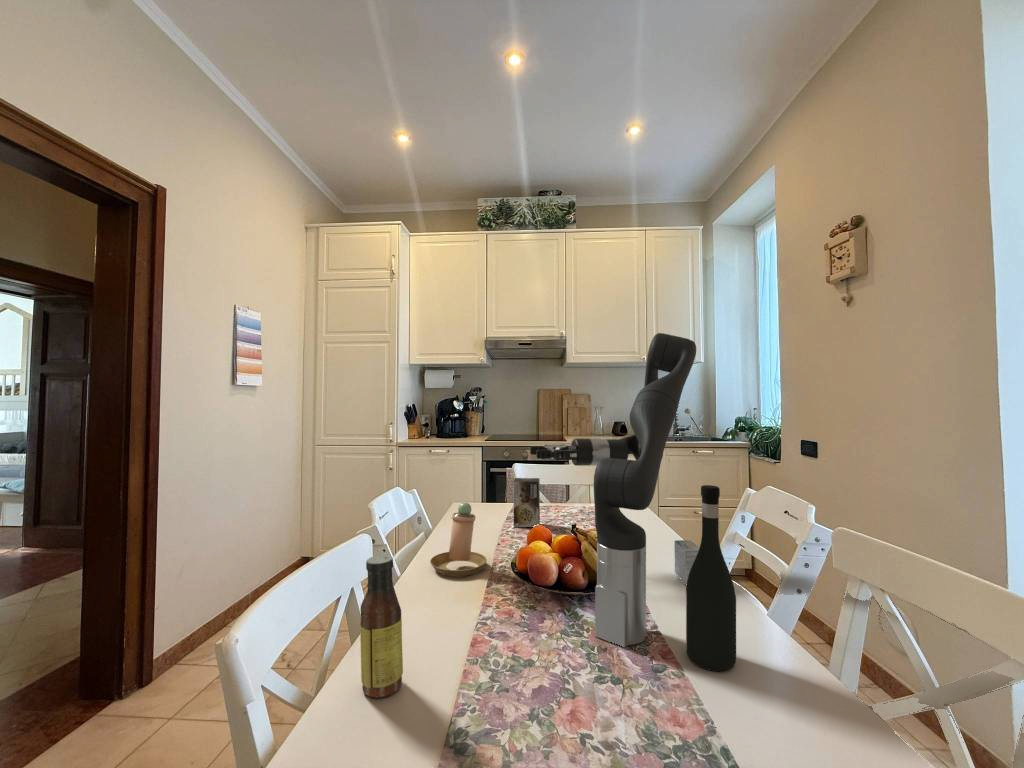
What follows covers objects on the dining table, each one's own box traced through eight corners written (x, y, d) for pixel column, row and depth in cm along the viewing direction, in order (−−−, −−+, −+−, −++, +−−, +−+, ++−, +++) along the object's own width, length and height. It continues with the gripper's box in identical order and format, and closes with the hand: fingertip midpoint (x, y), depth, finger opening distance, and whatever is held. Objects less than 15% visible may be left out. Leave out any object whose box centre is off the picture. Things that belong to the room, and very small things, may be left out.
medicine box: (703, 586, 112) (703, 550, 112) (684, 586, 112) (684, 549, 112) (691, 573, 120) (691, 539, 120) (674, 573, 120) (674, 539, 120)
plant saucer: (457, 556, 133) (457, 547, 133) (497, 568, 124) (497, 558, 124) (418, 571, 121) (418, 561, 121) (459, 585, 112) (459, 574, 112)
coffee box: (540, 523, 166) (540, 477, 166) (539, 528, 159) (539, 481, 160) (514, 522, 166) (514, 477, 167) (512, 527, 160) (513, 480, 160)
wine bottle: (676, 652, 83) (676, 483, 84) (711, 644, 86) (710, 480, 86) (709, 678, 75) (709, 492, 76) (747, 668, 78) (746, 489, 79)
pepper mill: (462, 562, 119) (469, 504, 120) (442, 557, 121) (449, 501, 123) (475, 558, 124) (481, 503, 126) (455, 553, 127) (461, 500, 129)
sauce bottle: (409, 679, 75) (411, 554, 75) (389, 704, 69) (391, 568, 69) (373, 672, 76) (375, 550, 77) (350, 696, 70) (352, 563, 71)
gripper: (582, 436, 138) (528, 436, 135) (598, 440, 124) (539, 441, 121) (582, 461, 137) (528, 462, 135) (598, 469, 123) (538, 470, 121)
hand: (533, 452), depth 128 cm, fingers open, 8 cm apart
